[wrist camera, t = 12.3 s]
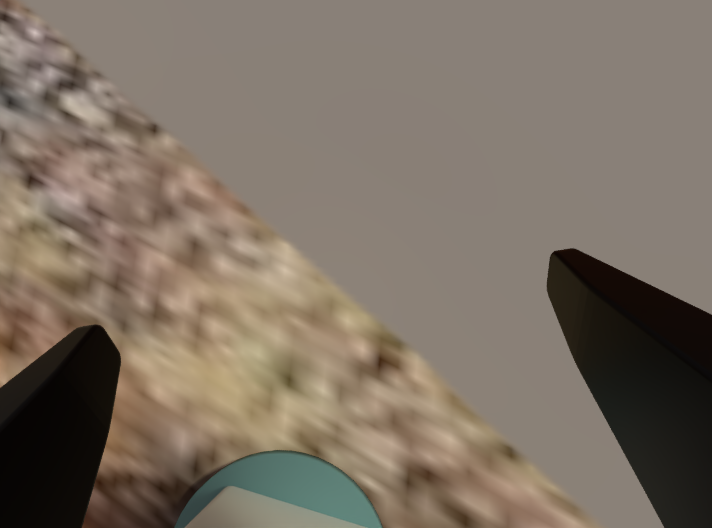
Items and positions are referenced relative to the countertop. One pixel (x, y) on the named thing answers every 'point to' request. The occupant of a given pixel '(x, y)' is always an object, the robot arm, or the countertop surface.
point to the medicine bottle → (260, 513)
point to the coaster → (289, 486)
